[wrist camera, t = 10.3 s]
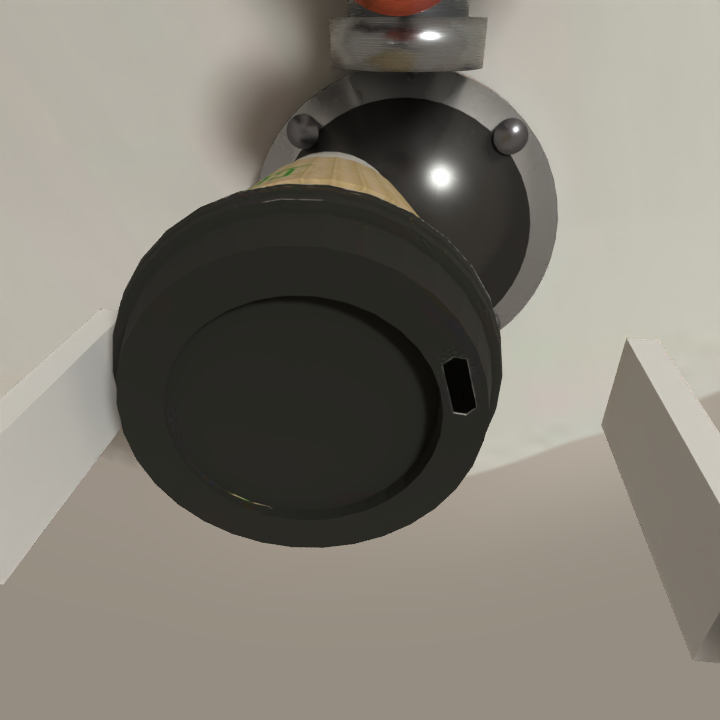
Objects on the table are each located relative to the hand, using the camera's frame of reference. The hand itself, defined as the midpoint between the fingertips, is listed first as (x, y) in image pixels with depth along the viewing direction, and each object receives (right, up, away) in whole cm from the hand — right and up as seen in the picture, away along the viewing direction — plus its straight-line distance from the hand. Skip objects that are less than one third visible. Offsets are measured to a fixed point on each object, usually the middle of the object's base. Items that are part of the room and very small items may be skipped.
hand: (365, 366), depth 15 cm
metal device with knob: (+2, +9, +11) cm, 15 cm away
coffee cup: (-1, +7, +11) cm, 13 cm away
